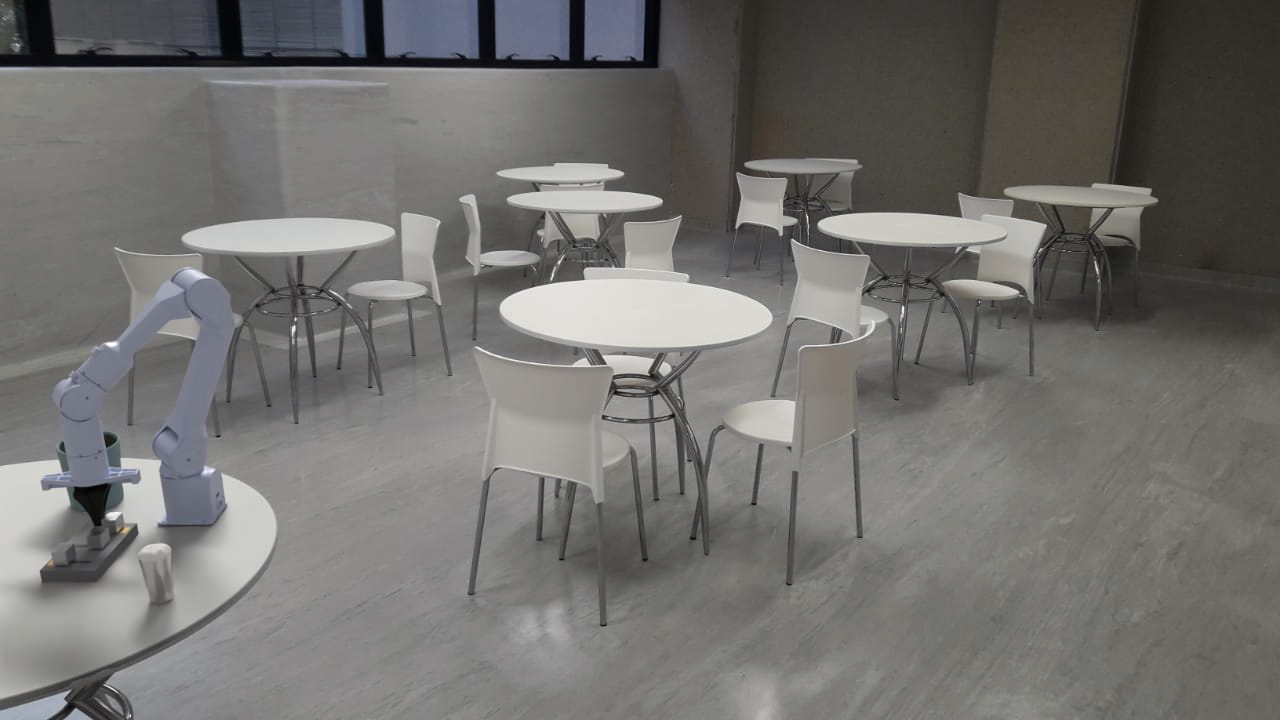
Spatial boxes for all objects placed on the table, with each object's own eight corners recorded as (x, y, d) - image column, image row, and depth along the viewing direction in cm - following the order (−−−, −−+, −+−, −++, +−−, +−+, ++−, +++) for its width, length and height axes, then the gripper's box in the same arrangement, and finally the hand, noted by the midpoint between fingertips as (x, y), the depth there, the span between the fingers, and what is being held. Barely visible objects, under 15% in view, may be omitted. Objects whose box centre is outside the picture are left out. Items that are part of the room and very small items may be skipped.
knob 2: (110, 539, 164) (107, 526, 163) (102, 548, 161) (99, 535, 160) (96, 539, 164) (94, 527, 163) (88, 548, 161) (85, 535, 160)
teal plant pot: (87, 488, 186) (76, 429, 182) (140, 490, 185) (130, 431, 181) (55, 514, 176) (42, 453, 172) (111, 516, 176) (100, 455, 172)
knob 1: (76, 555, 159) (73, 542, 158) (67, 565, 156) (65, 551, 156) (62, 555, 159) (59, 542, 158) (53, 565, 156) (50, 551, 155)
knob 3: (124, 524, 169) (122, 512, 168) (117, 533, 166) (114, 520, 165) (111, 524, 168) (109, 512, 168) (103, 533, 166) (101, 520, 165)
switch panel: (138, 533, 170) (136, 522, 170) (97, 581, 156) (94, 570, 156) (88, 533, 170) (86, 522, 169) (41, 581, 156) (39, 570, 155)
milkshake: (183, 586, 155) (174, 530, 152) (174, 605, 150) (164, 548, 147) (152, 588, 155) (142, 532, 151) (141, 608, 150) (131, 550, 146)
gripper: (140, 437, 167) (152, 508, 172) (45, 443, 164) (60, 515, 169) (129, 454, 161) (141, 528, 165) (30, 461, 158) (46, 536, 162)
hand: (99, 523), depth 167 cm, fingers closed
